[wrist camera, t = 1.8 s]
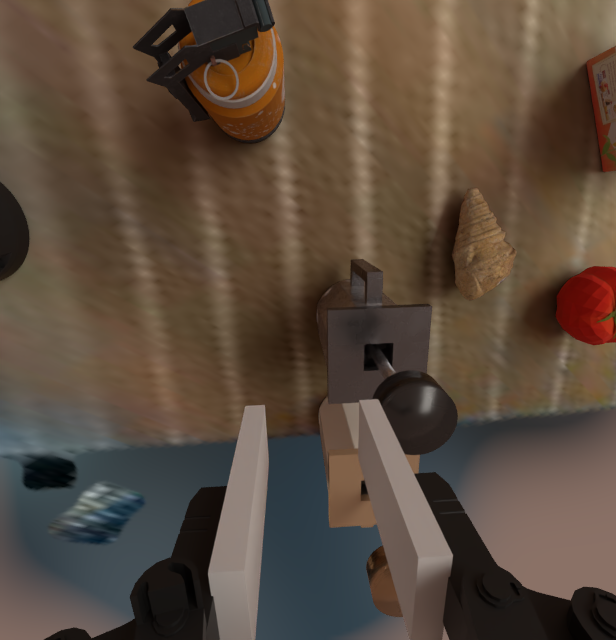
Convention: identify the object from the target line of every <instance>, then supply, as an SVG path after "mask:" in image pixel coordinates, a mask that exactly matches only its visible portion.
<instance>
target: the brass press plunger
mask: <svg viewBox="0 0 616 640" xmlns="http://www.w3.org/2000/svg"><path fill="white" fill-rule="evenodd" d="M361 491H367V487H366V484H365V480H364V481H361ZM366 570H367V574H368V579H369V584H370V588H371V592H372V597H373V602H374V604H375V606H376V607H377V609H378V610H380V611H381V612H382V613H384V614H386V615H389V616H395V617H403V615H402V611H401V607H400V604H399V600H398V597H397V593H396V590H395V586H394V583H393V579H392V576H391V572H390V569H389V565H388V562H387V558H386V554H385V551H384V547H383V546H381V547H379V548H378V549H376V550H375V551H374V552H373V553H372V554H371V555H370V557H369V559H368V561H367V565H366Z"/></svg>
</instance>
